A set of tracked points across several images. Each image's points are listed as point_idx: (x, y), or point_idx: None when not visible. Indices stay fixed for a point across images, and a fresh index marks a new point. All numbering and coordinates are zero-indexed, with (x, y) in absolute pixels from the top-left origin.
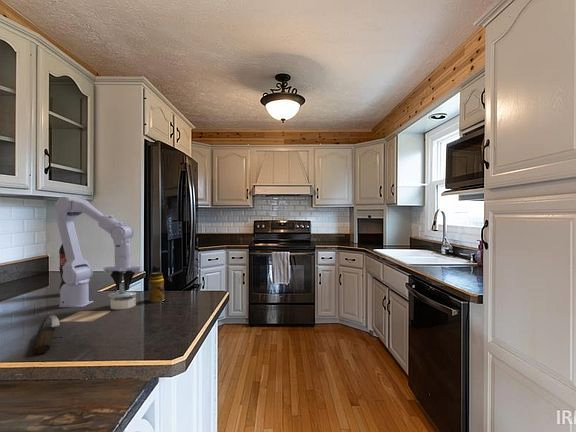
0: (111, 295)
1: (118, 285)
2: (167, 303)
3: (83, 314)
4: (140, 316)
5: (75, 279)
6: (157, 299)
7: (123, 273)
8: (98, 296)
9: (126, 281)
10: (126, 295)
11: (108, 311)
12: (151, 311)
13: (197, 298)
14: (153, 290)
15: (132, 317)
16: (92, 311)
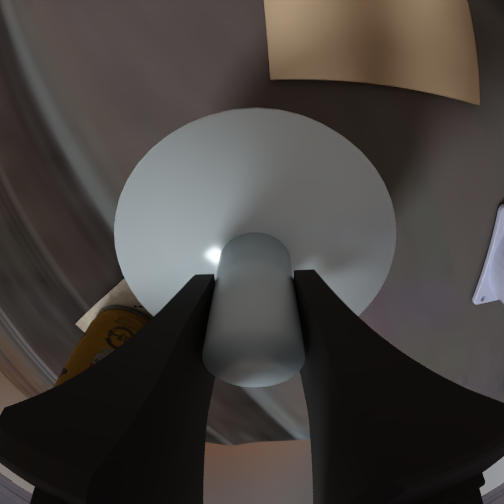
0: (313, 121)
1: (306, 312)
2: (51, 294)
3: (419, 19)
4: (32, 49)
5: None
6: (93, 320)
7: (76, 501)
8: (460, 372)
9: (133, 349)
10: (137, 167)
11: (286, 66)
12: (24, 144)
13: (20, 349)
14: (84, 359)
15: (61, 19)
16: (408, 78)
